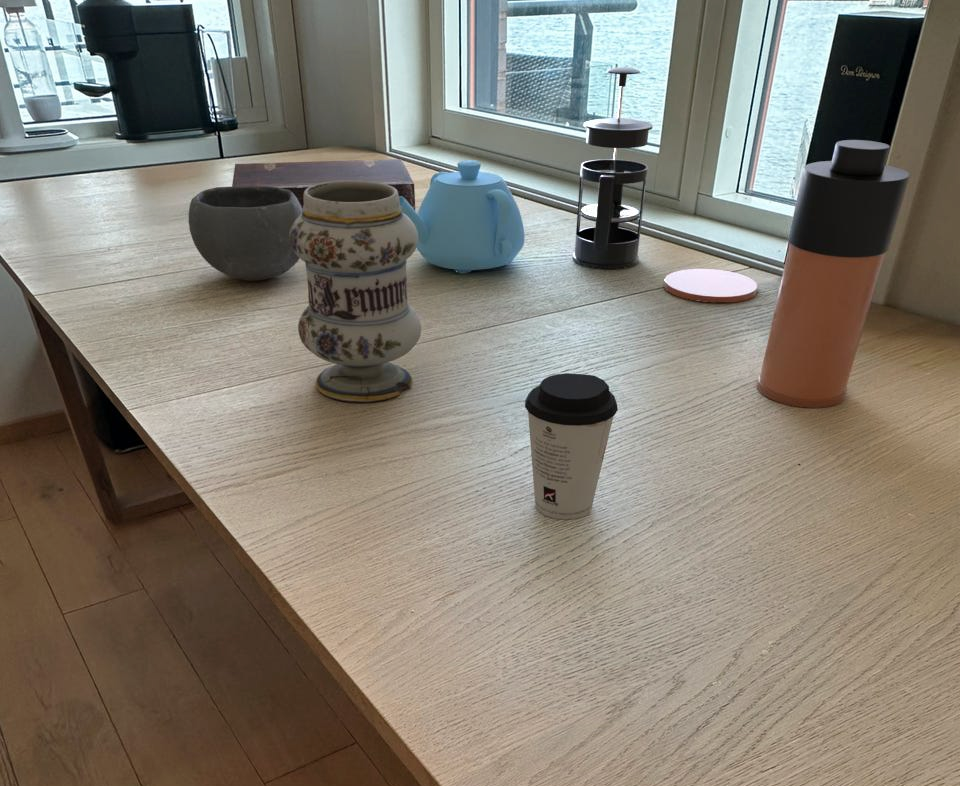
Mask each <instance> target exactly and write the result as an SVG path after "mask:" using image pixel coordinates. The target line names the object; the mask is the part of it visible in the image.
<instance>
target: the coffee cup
mask: <svg viewBox="0 0 960 786" xmlns="http://www.w3.org/2000/svg"><path fill="white" fill-rule="evenodd" d="M524 408H525V409H526V411H527V417H528V429H529V430H528V431H529V442H530V443H529V444H530V452H531V454H530V455H531V468H532V481H533V492H534V493H533V495H534V506H535V508H536V510H537V511H538V512H539V513H541V514H542V515H543V516H546V517H549V518H552V519H555V520H576V519H579V518H583V517H585V516H586V515H588V514H589V513H590V512H591V510H592V508H593V504H594V499H595V496H596V491H597V487H598V483H599V478H600V475H601V472H602V471H601V470H602V466H603V463H604V458H605V454H606V449H607V445H608V442H609V438H610V433H611V429H612V425H613V420H614V416H615V415H616V414H617V413H618V411H619V408H618V403H617V399H616V396H615V395H614V394H613V392H611V390H610V386H609V384H608V383H607V382H606V381H605V380H604V379H602V378H600V377H598V376H597V375H595V374H594V375H593V374H584V373H570V372H569V373H568V372H565V373H556V374H553V375H549V376H547V377H545V378H543V379H542V381H540V384H539V385H537V386H535V387H534V388H532V389H531V390H530V392H529V393H528V394H527V396H526V398H525V400H524Z"/></svg>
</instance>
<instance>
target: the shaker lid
mask: <svg viewBox="0 0 960 786" xmlns="http://www.w3.org/2000/svg"><path fill="white" fill-rule="evenodd" d="M890 149H891V146H890V145H889V144H887V143H883V142H881V141H880V142H878V141H873V140H866V139H865V140H864V139H846V140H839V141H836V143H835V145H834V150H833V154H832V159H831V160H825V161H816V162H811V163H808V164H806V165H804V167H803V170H802V174H801V177H800V178H801V179H800V184H799V187H798V192H797V197H796V201H795V206H794V211H793V215H792V220H791V224H790V225H791V226H790V229H789V233H788V237H787V238H788V239H787V241H788V243H790V244H792V245H793V246H795V247H797V248H799V249H802V250H805V251H808V252H812V253H817V254H822V255H828V256H837V257H870V256H877V255H881V254H883V253H885V254H886V253H887V252H888V251H889V249H890V247H891V243H892V239H893V236H894V232H895V229H896V225H897V222H898V219H899V215H900V211H901V208H902V205H903V202H904V197H905V194H906V191H907V188H908V184H909V180H910V177H911V175H910V173H909V171H906V170H905V169H902V168H900V167H896V166H891V165H887V164H886V163H887V160H888V156H889V152H890Z"/></svg>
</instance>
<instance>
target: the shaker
mask: <svg viewBox="0 0 960 786" xmlns="http://www.w3.org/2000/svg"><path fill="white" fill-rule="evenodd" d="M788 243H789V244H788V248H787V252H786V257H785V262H784V266H783V269H782V270H783V272H782V275H781V280H780V284H779V289H778V293H777V297H776V303H775V307H774V312H773V315H772V316H773V317H772V320H771V325H770V329H769V334H768V338H767V343H766V348H765V353H764V357H763V362H762V366H761V371H760V374H759V376H758V377H757V380H756V381H757V382H756V388H757V390H758V391H759V393H760V394H761V395H763V396H764V397H766V398H768V399H770V400H772V401H774V402H776V403H780V404H783V405H787V406H791V407H797V408H807V409H818V408H820V409H821V408H829V407H832V406H835V405H838V404H840V403H842V402H843V401H844V400H845V398H846V395H847V391H848V383H849V379H850V376H851V372H852V369H853V365H854V362H855V359H856V355H857V352H858V349H859V345H860V341H861V339H862V338H861V337H862V335H863V331H864V327H865V325H866V322H867V321H866V320H867V317H868V314H869V311H870V308H871V307H870V306H871V303H872V300H873V297H874V294H875V290H876V287H877V282H878V279H879V275H880V272H881V268H882V265H883V263H884V258H885V255H886V252H885V253H883V254H881V255H877V256H870V257H837V256H828V255H822V254H817V253H812V252H808V251H805V250H802V249H799V248H797V247H795V246H793V245H792V244H790V242H788Z"/></svg>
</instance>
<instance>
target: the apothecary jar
mask: <svg viewBox="0 0 960 786" xmlns="http://www.w3.org/2000/svg"><path fill="white" fill-rule="evenodd" d="M399 203H400V202H399V195H398V191H397V190H396V189H395V188H394V187H392V186H390V185H387V184H383V183H377V182H369V181H354V180H340V181H331V182H325V183H320V184H316V185H313V186H311V187H308V188H307V189H306V190H305V191H304V206H303V210H302V214H301V215H300V216H299V217H298V218H297V219H296V220H295V222H294V223H293V225H292V227H291V229H290V233H289V241H290V245H291V248H292V250H293V251H294V253H295V254H296V255H297V256H298V257H299V258H300V259H299V260H301V261H303V262H304V263H305V271H306V279H307V280H306V281H307V291H308V294H307V295H308V305H307V306H306V307H305V309H304V310H303V312H302V313H301V315H300V317H299V320H298V325H297V330H298V335H299V339H300V340H301V343H302V344H303V346H304V347H305V348H306V349H307V350H308V351H309V352H311V353H312V354H313V355H314V356H316V357H317V358H319V359H321V360H323V361H326V362H328V363H332V364H334V365H331V366H329V367H327V368H325V369H324V370H323V371H321V372H320V373H319V375H318V376H317V377H316V380H315V387H316V389H317V391H318V392H319V393H321V394H322V395H324V396H326V397H328V398H330V399H334V400H337V401H342V402H350V403H375V402H381V401H386V400H391V399H393V398H396V397H398V396H400V395H401V393H402V392H403V390H407V389H410V388H411V387H412V385H413V377H412V375H411V373H410V372H408V370H406V369H405V368H403V367H402V366H399V365H397V364H394V363H392V362H393V361H396V360H398V359H400V358H403V356H405V355H407V354H408V353H409V352H410V351H411V350H413V348H414V347H415V346H416V345H417V343H418V342H419V340H420V338H421V334H422V323H421V319H420V316H419V315H418V314H417V312H416V310H415V309H414V307H412V306H411V305H410V304H409V300H408V283H407V282H408V280H407V278H408V277H407V260H408V259H409V258H410V257H411V256H413V254H414V253H415V251H416V249H417V248H416V247H417V244H418V233H417V230H416V227H415V225H414V224H413V222H412V221H411V219H410V218H409V217H408V216H407V215H405V214H404V213H403V212H402V211H401V206H400V204H399Z"/></svg>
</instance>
